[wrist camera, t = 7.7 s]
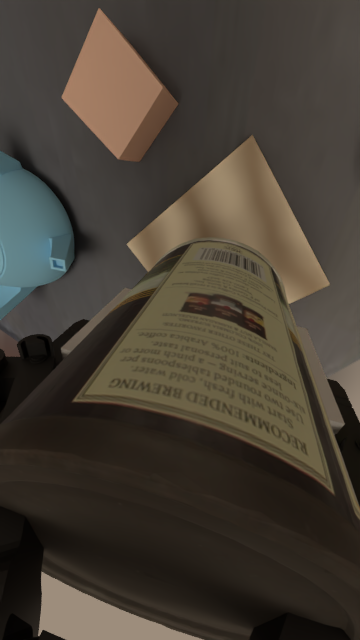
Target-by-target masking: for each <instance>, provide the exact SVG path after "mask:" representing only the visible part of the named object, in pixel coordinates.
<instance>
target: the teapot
mask: <svg viewBox="0 0 360 640" xmlns="http://www.w3.org/2000/svg"><path fill="white" fill-rule="evenodd" d="M74 259H75V256H74V235H73V230H72V226H71V223H70V220H69V217H68V215H67V213H66V211H65V209H64V207H63V205H62V204H61V202H60V201H59V199H58V198H57V196H56V195H55V194H54V193H53V191H52V190H51V189H50V188H49V187H48V186H47V185H46V184H45V183H44V182H43V181H42V180H41V179H39V178H38V177H37V176H35V175H34V174H32V173H31V172H29V171H27V170H25V169H23V168H22V166H21V164H20V162H19V161H18V160H16V159H14V158H12V157H10V156H9V155H7V154H5V153H3V152H2V151H0V320H1V319H2V318H3V317H5V316H6V315H7V314H8V313H9V312H10V311H11V310H12V309H13V308H14V307H16V306H17V305H18V304H19V303H20V302H21V301H22V300H23V299H24V298H26V297H27V296H28V295H29V294H30V293H31V292H32V291H33V290H34V289H35V288H37V286H40V285H45V284H48V283H51V282H53V281H55V280H57V279H59V278H61V277H62V276H63V275H64V274H65V273H66V271H67V270H68V269H69V267H70V265H71V264H72V262H73V260H74Z"/></svg>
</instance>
